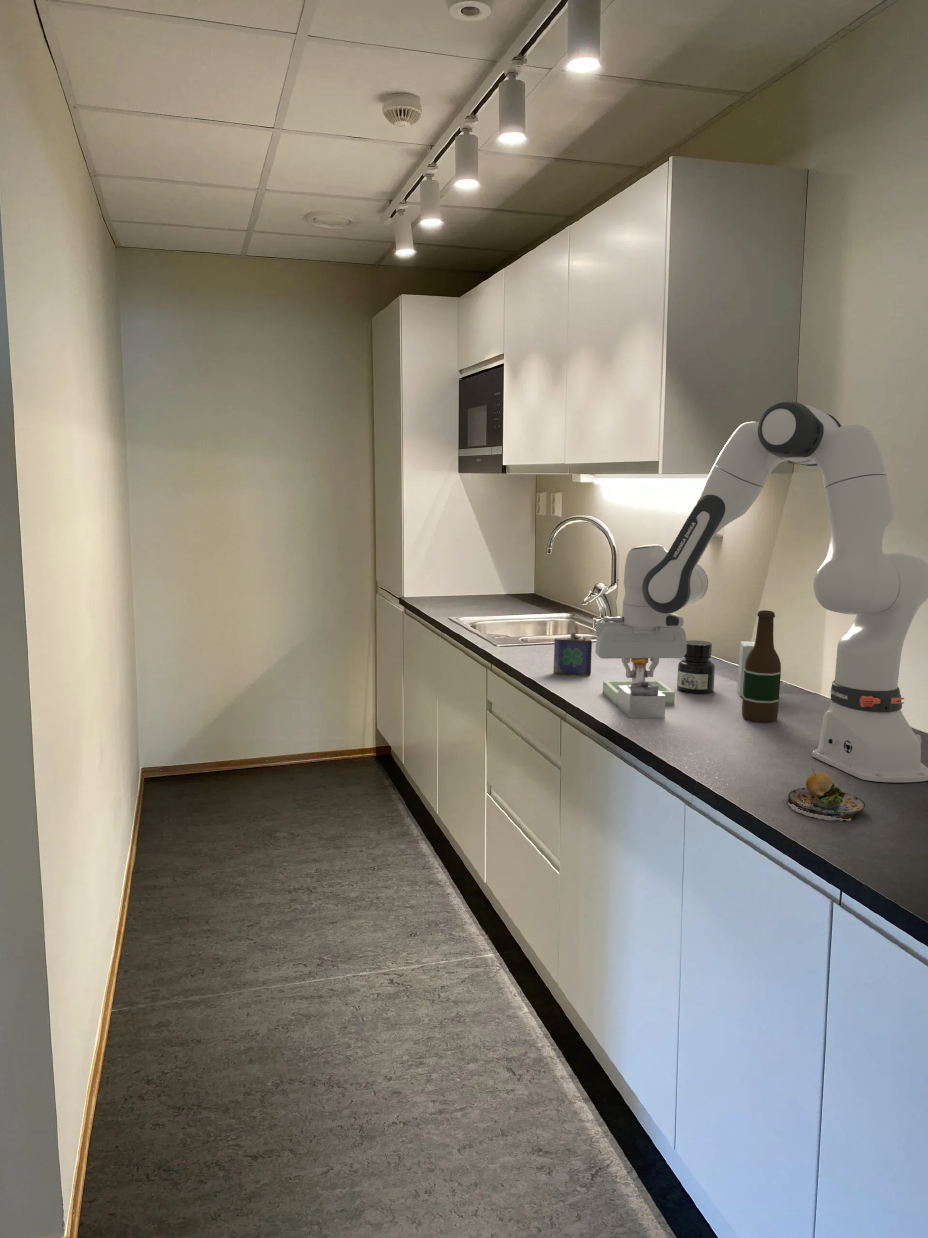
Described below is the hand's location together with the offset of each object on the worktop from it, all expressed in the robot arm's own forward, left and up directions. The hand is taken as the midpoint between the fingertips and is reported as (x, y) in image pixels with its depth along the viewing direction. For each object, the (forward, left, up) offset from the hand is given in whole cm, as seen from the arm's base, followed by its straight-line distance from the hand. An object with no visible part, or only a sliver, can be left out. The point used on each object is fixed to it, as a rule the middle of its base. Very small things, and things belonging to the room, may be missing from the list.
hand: (639, 677), depth 210 cm
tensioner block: (-2, 0, -8) cm, 8 cm away
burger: (-62, -13, -8) cm, 64 cm away
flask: (+38, +7, -8) cm, 39 cm away
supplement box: (+14, -33, -8) cm, 36 cm away
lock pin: (+1, 0, -8) cm, 8 cm away
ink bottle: (+19, -20, -8) cm, 28 cm away
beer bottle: (-8, -25, -8) cm, 28 cm away
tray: (+11, -3, -8) cm, 13 cm away
